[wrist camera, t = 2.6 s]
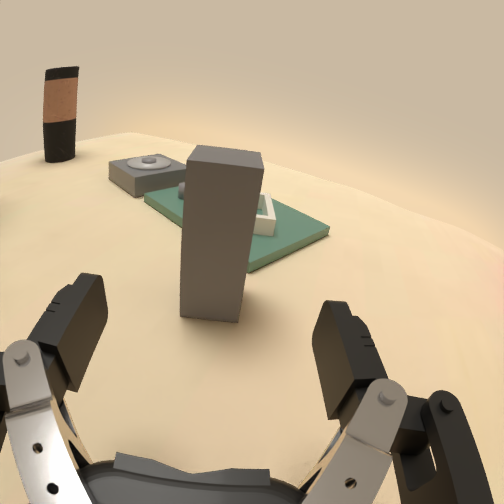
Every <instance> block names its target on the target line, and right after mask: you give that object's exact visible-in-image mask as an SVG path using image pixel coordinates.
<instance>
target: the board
mask: <svg viewBox="0 0 504 504" xmlns="http://www.w3.org/2000/svg"><path fill="white" fill-rule="evenodd" d="M184 188H185V182H182V183H179V186H177V187H172V188H167V189H163V190H158V191H153V192H148V193H144V202H146V203H147V204H148V205H150V206H151V207H153V208H154V209H156V210H157V211H158V212H160V213H161V214H163V215H164V216H166V217H167V218H169V219H170V220H171V221H173V222H174V223H176V224H177V225H179V226H180V227H181V228H182V220H183V203H184ZM329 229H330V226H328V225H326V224H324V223H322V222H320V221H318V220H316V219H314V218H312V217H310V216H308V215H305V214H303V213H301V212H299V211H297V210H295V209H293V208H291V207H289V206H287V205H285V204H282V203H280V202H278V201H276V200H274V199H272V198H271V195H270V194H268V193H261V192H260V197H259V203H258V208H257V214H256V220H255V226H254V232H253V237H252V243H251V249H250V255H249V261H248V266H247V273H250V272H252V271H254V270H256V269H258V268H260V267H262V266H264V265H267V264H269V263H271V262H273V261H275V260H277V259H279V258H281V257H283V256H285V255H287V254H289V253H292V252H294V251H296V250H298V249H300V248H302V247H304V246H306V245H308V244H310V243H312V242H314V241H316V240H318V239H320V238H322V237H324V236H326V235H328V233H329Z"/></svg>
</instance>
